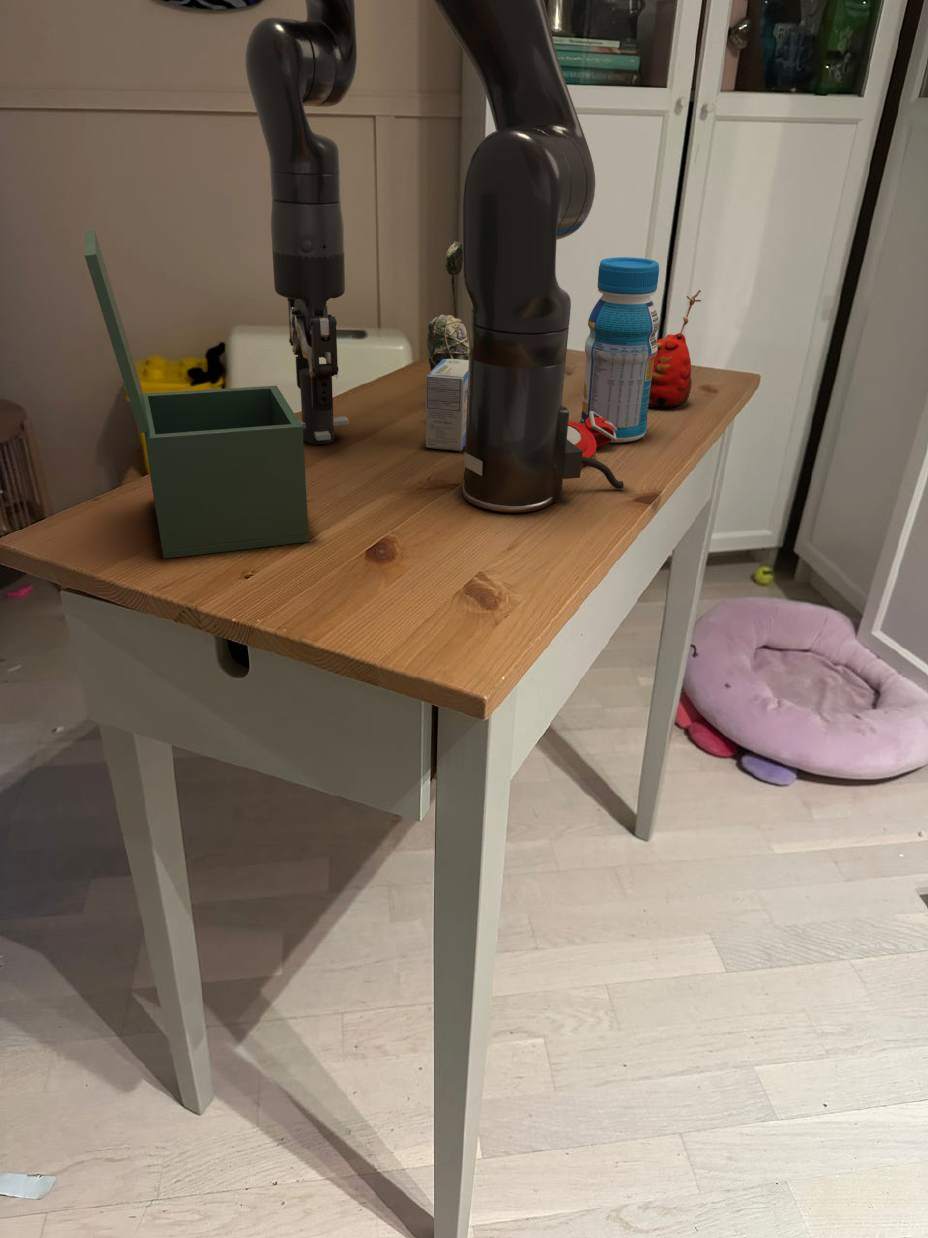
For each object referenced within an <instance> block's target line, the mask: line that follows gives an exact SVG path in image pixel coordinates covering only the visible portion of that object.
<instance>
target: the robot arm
mask: <svg viewBox="0 0 928 1238" xmlns="http://www.w3.org/2000/svg"><path fill="white" fill-rule="evenodd" d="M304 1H305V9H306V19H305V20H300V19H293V18H285V17H274V16H273V17H272V16H271V17H266V18H263V19H261V20H259V21H258V22H257V23H256V24H255V26H254V27H253V28H252V30H251V32H250V35H249V37H248V40H247V43H246V50H245V59H244V60H245V71H246V79H247V82H248V86H249V91H250V94H251V97H252V100H253V103H254V107H255V110H256V113H257V117H258V120H259V125H260V128H261V132H262V135H263V138H264V141H265V144H266V148H267V152H268V157H269V176H270V191H271V194H270V195H271V212H270V213H271V214H270V236H271V252H272V253H271V254H272V263H273V264H272V267H273V286H274V291H275V293H276V294H277V295H279V296H281V297H283V298H287V302H288V305H287V306H288V328H289V338H288V342H289V344H290V346H291V347H292V349H291V350H292V353H293V356H295V375H296V386H297V388H298V389H300V373H299V372H300V370H301V369H304V368H309V374H310V375H311V396H312V407H313V409H314V410H315V411H327V410H331V409H332V407H333V408H334V399H333V397H334V396H333V395H334V394H333V377H335V376H338V374H339V365H338V363H339V362H338V340H337V339H338V337H337V326H338V324H337V323H338V322H337V319H336V316H333V315H332V314H329V313H328V305H327V302H328V301H329V300H330V299H337V298H340V297H342V296H343V295H344V294H345V291H346V271H345V228H344V217H343V212H342V202H341V201H342V199H341V196H342V194H341V193H342V192H341V161H340V159H341V158H340V151H339V147H338V145H337V143H336V142H335V141H334V140H332V139H331V138H329V137H327V136H325V135H322V134H318V133H315V132H314V131H313V130H312V128H311V127H310V123H309V121H308V117H307V115H306V110H305V109H304V108H305V107H314V108H315V107H319V108H329V107H334V106H336V105H338V104H340V103H341V102H342V101H343V100H344V99H345V97H346V96H347V95H348V93H349V91H350V89H351V87H352V85H353V83H354V80H355V76H356V71H357V61H358V49H357V47H358V46H357V29H356V28H357V27H356V7H355V6H356V5H355V0H304ZM432 1H433V3H434V5H435V7H436V9H437V10H438V12H439V14H440V15H441V17H442V19H443V20H444V22H445V24H446V26H447V27H448V28H449V30H450V32H451V34H452V35H453V37H454V38H455V40H456V41H457V43H458V45H459V46H460V48H461V49H462V51H463V52H464V54H465V56H466V57H467V59H468V60H469V62H470V64H471V66H472V67H473V69H474V71H475V74H476V75H477V77H478V79H479V81H480V84H481V86H482V88H483V91H484V94H485V96H486V99H487V102H488V104H489V108H490V112H491V117H492V121H493V124H494V128H495V131H492V132H491V133H489V134H488V135H486V136H485V137H484V138H483V139H482V140H481V141H480V142H479V143H478V144H477V146H476V147H475V149H474V150H473V153H472V154H471V157H470V159H469V161H468V164H467V168H466V171H465V174H464V175H465V177H464V181H463V189H462V205H461V206H462V208H461V210H462V211H461V212H462V213H461V214H462V215H461V217H462V218H461V220H462V221H461V222H462V223H461V224H462V225H461V226H462V227H461V228H462V229H461V231H462V233H461V234H462V249H463V264H462V278H463V279H462V280H463V285H464V289H465V290H464V291H465V293H466V295H467V298H468V302H469V309H470V314H469V315H470V316H469V317H470V318H469V319H470V320H469V321H470V322H469V367H468V392H467V418H466V443H465V446H464V452H463V453H464V454H463V468H464V471H463V484H462V496H463V498H464V499H465V500H466V501H467V502H469V503H470V504H472V505H473V506H476V507H478V508H481V509H483V510H484V509H485V510H490V511H493V512H501V513H526V512H527V513H529V512H534V511H538V510H540V509H544V508H546V507H548V506H549V505H551V504H553V503H559V502H561V501H562V491H563V483H564V481H563V480H570V479H578V478H581V472H582V467H581V464H584V466H588V467H592V468H593V469H596V470H598V471H599V472H601V473H602V474H603V475H604V477H605V479H606V480H607V481H608V483H609V485H611V486H612V487H613V488H615V489H618V490H621V489H623V488H624V485H625V484H624V481H623V480H618V479H617V478H616V477H615V475H614V473H613V472H612V470H611V469H610V468H609V467H608V466H607V465H605V464H604V463H603V462H601V461H598V460H597V459H593V458H592V459H591V458H588V457H584V456H582V454H583V451H582V450H581V449H579V448H578V447H576V446H575V445H574V444H572V443H571V442H570V441H568V440H567V432H568V421H570V410H569V409H568V407H566V406H565V405H563V395H564V394H563V393H564V386H565V385H564V383H565V374H566V363H567V362H566V361H567V353H568V352H567V351H568V342H569V341H568V340H569V329H570V327H569V326H570V321H571V309H572V302H571V301H572V300H571V296H570V294H569V293H568V292H567V291H566V290H565V289H563V288H562V287H561V286H560V285H559V282H558V280H557V274H556V273H557V270H556V269H557V268H556V265H557V241H558V240H562V239H565V238H567V237H569V236H571V235H573V234H574V233H576V232H577V231H578V230H579V229H580V228H581V227H582V226H583V225H584V223H585V222H586V220H587V219H588V217H589V215H590V213H591V210H592V208H593V204H594V199H595V196H596V172H595V166H594V162H593V158H592V154H591V151H590V147H589V144H588V142H587V138H586V135H585V133H584V130H583V127H582V125H581V122H580V119H579V117H578V113H577V110H576V107H575V105H574V102H573V99H572V97H571V94H570V91H569V90H570V89H569V88H568V84H567V81H566V80H565V75H564V73H563V69H562V67H561V64H560V60H559V56H558V53H557V50H556V47H555V43H554V38H553V35H552V31H551V26H550V25H551V24H550V20H549V16H548V13H547V12H548V11H547V8H546V4H545V0H432ZM320 358H323V359H325V363H320ZM332 394H333V395H332Z"/></svg>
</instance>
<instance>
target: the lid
mask: <svg viewBox="0 0 928 1238" xmlns="http://www.w3.org/2000/svg"><path fill="white" fill-rule="evenodd" d="M84 259H85V262H86V265H87V268H88V269H87V270H88V272H89V274H90V278H91V282H92V285H93V287H94V290H95V294H96V298H97V300H98V304H99V307H100V310H101V313H102V317H103V320H104V323H105V326H106V330H107V333H108V336H109V339H110V342H111V346H112V349H113V352H114V357H115V359H116V363H117V365H118V369H119V372H120V375H121V378H122V382H123V384H124V385H123V386H124V388H125V391H126V394H127V398H128V401H129V404H130V408H131V411H132V414H133V417H134V420H135V423H136V425H137V426H136V427H137V431H138V433H139V434H142V433H143V434H144V432H148V431H149V425H148V419H147V414H146V408H145V403H144V398H143V394H144V393H143V387H142V384H141V381H140V377H139V374H138V370H137V367H136V364H135V360H134V358H133V354H132V350H131V347H130V344H129V340H128V337H127V334H126V331H125V326H124V323H123V321H122V317H121V314H120V310H119V307H118V304H117V303H118V302H117V301H116V297H115V293H114V291H113V287H112V284H111V280H110V278H109V273H108V269H107V267H106V264H105V260H104V257H103V253H102V251H101V246H100V243H99V240H98V237H97V233H96V231H95V230H89V231H84Z"/></svg>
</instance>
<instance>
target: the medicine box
mask: <svg viewBox="0 0 928 1238" xmlns="http://www.w3.org/2000/svg"><path fill="white" fill-rule="evenodd" d="M468 367H469V360H460V359H442V360H441V361H440V363H439V364H438V365H437V366H436V367H435V368H434V369H433V370H432V371H431V370H430V372H429V373H428V374H427V375H426V376H425V377H426V378H425V447H426V448H429V449H435V450H446V451H453V452H454V451H455V452H462V451H463V449H464V448H465V443H466V418H467V392H468Z"/></svg>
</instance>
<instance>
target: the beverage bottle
mask: <svg viewBox="0 0 928 1238" xmlns="http://www.w3.org/2000/svg"><path fill="white" fill-rule="evenodd" d="M659 274H660V264H659V262H658V261H656V260H655V259H649V258H643V257H629V256H618V257H608V258H604V259H601V260H600V262H599V266H598V274H597V291H598V292H599V293H600V294H602V295H601V297H600V298H598V300H597V302H596V304H595V305H594V306H593V308H592V310H591V312H590V314H589V317H588V320H587V327H588V328H589V335H588V336H587V338H586V340H585V343H584V353H585V369H584V370H585V371H584V382H583V383H584V385H583V396H582V397H583V398H582V408H581V415H580V420H579V421H580V422H579V423H585V420H586V419H587V418H590V415H589V412H590V411H593V412H595V413H596V414H598V415H599V416H601V417H603V418H605V419H607V420H608V421H609V422H611V423H612V424H613V425H614V426H615V427H616V428H617V431H615V433H616V438H617V440H616V441H613V440H611V441H610V442H609V443H615V444H616V443H618V444H619V443H629V442H635V441H638V440H640V439H641V438H643V437H644V436H645V435H646V433H647V430H648V429H647V428H648V413H649V406H648V404H649V396H650V388H651V380H652V372H653V364H654V359H655V357H656V355H657V347H658V345H657V341H658V340H657V339H656V333H657V332H658V330H659V329H660V319H659V313H658V311H657V309H656V307H655V304H654V302H653V300H652V299H651V296H654V295H655V294H656V292H657V290H658V283H659Z"/></svg>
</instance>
